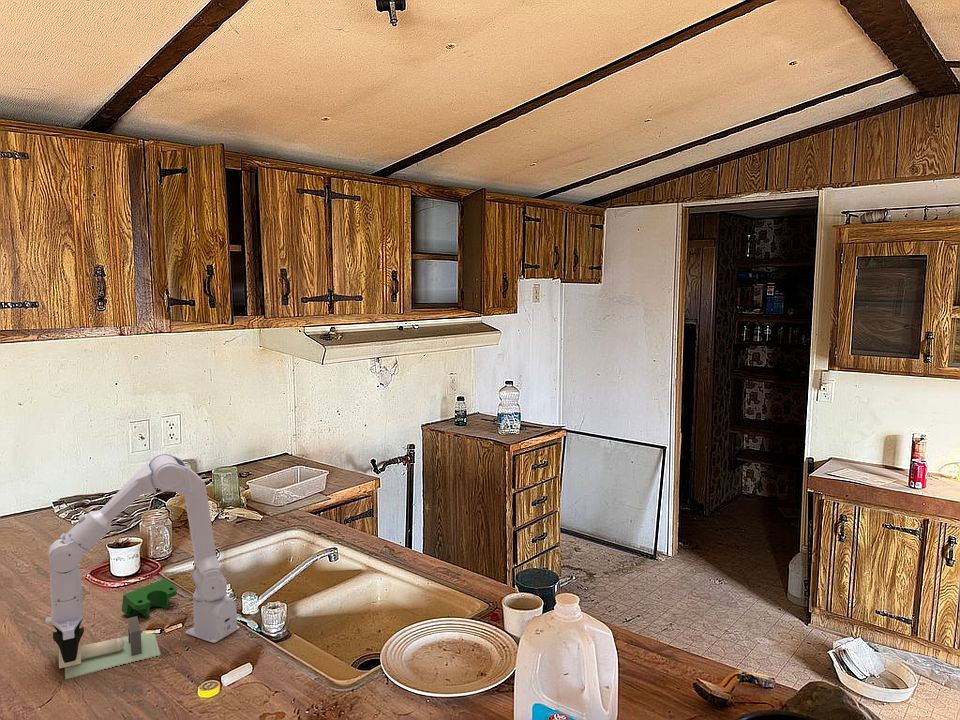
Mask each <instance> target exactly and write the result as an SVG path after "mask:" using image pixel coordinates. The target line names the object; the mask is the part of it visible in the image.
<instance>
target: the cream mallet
mask: <svg viewBox="0 0 960 720" xmlns="http://www.w3.org/2000/svg"><path fill="white" fill-rule="evenodd" d="M57 647H58V667H59V668H58V669H63V668H64V669H65V667H68V666H73V665H77V664H81V660H82V659H87V658H91V657H95V656H100V655H104V654H109V653H113V652H118V651H120V650H121V649H122V648H123V647H124V641H123V639H121V637H115V638H111V639H107V640H102V641H98V642H94V643H93V642H92V643H89V644H83V645H81V641H80V642H79V645H78V652H77V657H76V660H75V661H72V662H67V663H64V661H63V658H62V654H61V651H60V648H59V646H58V645H57Z"/></svg>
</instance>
